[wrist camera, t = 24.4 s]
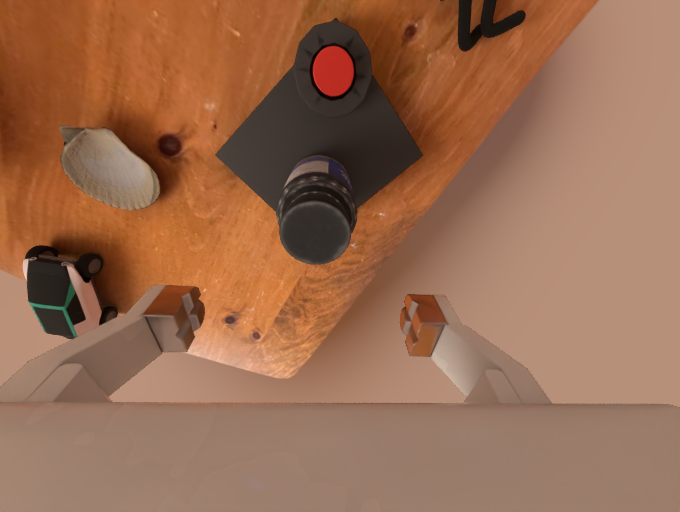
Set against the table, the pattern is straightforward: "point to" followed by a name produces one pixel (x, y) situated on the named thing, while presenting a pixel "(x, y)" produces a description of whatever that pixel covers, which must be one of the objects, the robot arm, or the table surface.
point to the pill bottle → (316, 210)
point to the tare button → (333, 71)
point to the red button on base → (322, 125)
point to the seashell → (107, 168)
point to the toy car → (65, 292)
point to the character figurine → (483, 23)
